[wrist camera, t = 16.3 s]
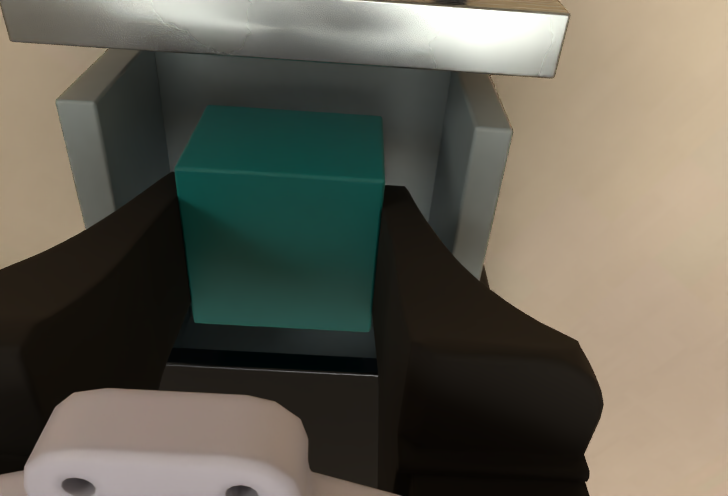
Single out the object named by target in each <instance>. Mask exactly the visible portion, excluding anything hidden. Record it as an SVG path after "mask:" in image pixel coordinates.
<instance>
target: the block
mask: <svg viewBox="0 0 728 496" xmlns="http://www.w3.org/2000/svg"><path fill="white" fill-rule="evenodd" d="M174 172H175V180H176V188H177V195H178V203H179V210H180V218H181V226H182V234H183V241H184V249H185V257H186V265H187V273H188V280H189V288H190V296H191V305H192V312H193V320H194V322H195V323H203V324H221V325H240V326H258V327H277V328H295V329H314V330H332V331H351V332H369V331H370V329H371V321H372V306H373V296H374V286H375V276H376V265H377V255H378V245H379V235H380V225H381V215H382V208H383V200H384V190H385V162H384V136H383V119H382V117H381V116H373V115H358V114H343V113H328V112H312V111H297V110H282V109H266V108H251V107H236V106H221V105H207V107H206V109H205V110H204V112H203V114H202V116H201V118H200V120H199V122H198V124H197V126H196V128H195V129H194V131H193V133H192V135H191V137H190V139H189V141H188V143H187V145H186V147H185V148H184V150H183V152H182V154H181V156H180V158H179V160H178V162H177V164H176V166H175V168H174Z"/></svg>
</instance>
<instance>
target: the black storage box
mask: <svg viewBox="0 0 728 496" xmlns="http://www.w3.org/2000/svg"><path fill="white" fill-rule="evenodd" d="M480 282H482V283H483V284H484V285H485V286H486V287H488V288H489V284H488V280H487V276H486V272H485V268H484V264H483V268H482V272H481V277H480ZM489 289H490V288H489ZM158 391H177V392H196V393H216V394H236V395H249V396H253V397H257V398H262V399H266V400H271V401H275V402H277V403H278V404H280V405H281V406H282V407H284V408H285V409H287V410H288V411H290V412H291V413H292V414H294V415H295V416H297V417H298V418H300V419H301V422H302V424H303V427H304V429H305V432H306V434H307V437H308V463H309V468H310V470H311V471H312V472H315V473H318V474H322V475H326V476H330V477H334V478H337V479H341V480H345V481H349V482H352V483H356V484H360V485H364V486H367V487H371V488H375V489H378V417H379V383H378V367H377V358H366V357H347V356H328V355H309V354H290V353H271V352H252V351H233V350H213V349H194V348H175V347H173V348H172V351H171V353H170V356H169V358H168V361H167V364H166V367H165V369H164V372H163V375H162V379H161V382H160V386H159V390H158Z"/></svg>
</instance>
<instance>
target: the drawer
mask: <svg viewBox="0 0 728 496" xmlns="http://www.w3.org/2000/svg"><path fill="white" fill-rule="evenodd" d="M0 6H1V9H2V13H3V17H4V20H5V24H6V28H7V32H8V35H9V39H10V41H12V42H23V43H37V44H52V45H67V46H82V47H96V48H109V49H108V50H107V51H106V52H105V53H104V54H103V55H102V56H101V57H100V58H98V59H97V60H96V61H95V62H94V63H93V64H92V65H91V66H90V67H89V68H88V69H87V70H86V71H85V72H84V73H83V74H82V75H81V76H80V77H79V78H78V79H77V80H76V81H75V82H74V83H73V84H72V85H71V86H70V87H69V88H67V89H66V90H65V91H64V92H63V93H62V94H61V95H60V96H59V97H58V98H57V99H56V107H57V111H58V115H59V119H60V123H61V128H62V132H63V136H64V140H65V144H66V149H67V153H68V157H69V161H70V165H71V170H72V174H73V178H74V182H75V186H76V191H77V195H78V199H79V203H80V207H81V211H82V216H83V220H84V224H85V228H86V229H88V228H89V227H91V226H92V225H94V224H96V223H97V222H99V221H100V220H102V219H104V218H105V217H107V216H108V215H110V214H112V213H113V212H115V211H116V210H118V209H119V208H121V207H122V206H123V205H125V204H126V203H128V202H129V201H131V200H132V199H133V198H135V197H136V196H138V195H139V194H140V193H142V192H143V191H145V190H146V189H147V188H149V187H150V186H151V185H153V184H154V183H156V182H157V181H158V180H160V179H161V178H163V177H164V176H166V175H167V174H169V173H170V172H174V168H175V166H176V164H177V162H178V160H179V158H180V156H181V154H182V152H183V150H184V148H185V147H186V145H187V143H188V141H189V139H190V137H191V135H192V133H193V131H194V129H195V128H196V126H197V124H198V122H199V120H200V118H201V116H202V114H203V112H204V110H205V109H206V107H207V105H221V106H236V107H251V108H266V109H282V110H297V111H312V112H328V113H343V114H358V115H373V116H381V117H382V119H383V136H384V162H385V185H396V186H405V187H406V188H407V189H408V191H409V192H410V194H411V196H412V198H413V200H414V201H415V203H416V205H417V207H418V208H419V210H420V211H421V213H422V215H423V216H424V218H425V219H426V221H427V222H428V224H429V225H430V226H431V228H432V229H433V230H434V232H435V233H436V235H437V236H438V237H439V239H440V240H441V241H442V242H443V244H444V245H445V246H446V247H447V249H448V250H449V251H450V252H451V253H452V254H453V256H454V257H455V258H456V259H457V260H458V261H459V262H460V263H461V264H462V265H463V266H464V267H465V268H466V269H467V270H468V271H469V272H470V273H471V274H473V275H474V276H475V277H476V278H477V279H478V280H479V281H480V277H481V272H482V268H483V263H484V259H485V255H486V250H487V246H488V241H489V237H490V232H491V228H492V224H493V219H494V215H495V210H496V206H497V201H498V197H499V193H500V188H501V184H502V179H503V175H504V171H505V166H506V162H507V157H508V153H509V148H510V144H511V140H512V135H513V129H512V127H511V124H510V122H509V120H508V117H507V115H506V113H505V110H504V108H503V106H502V103H501V101H500V99H499V96H498V94H497V92H496V89H495V87H494V85H493V82H492V80H491V78H490V75H489V74H494V75H508V76H523V77H538V78H554V77H555V74H556V70H557V66H558V62H559V58H560V54H561V50H562V46H563V42H564V38H565V35H566V31H567V27H568V23H569V19H570V13H569V12H568V11H567V10H566V9H565V7H564V6H563V5H562V4H561V3H560V2H559V1H558V0H0ZM173 347H175V348H194V349H213V350H233V351H252V352H271V353H290V354H309V355H328V356H347V357H366V358H377V357H376V347H375V337H374V328H373V318H372V321H371V329H370V331H369V332H351V331H332V330H314V329H295V328H277V327H258V326H240V325H221V324H203V323H195V322H194V320H193V312H192V305H191V304H190V306H189V309H188V311H187V314H186V316H185V319H184V321H183V323H182V326H181V328H180V331H179V333H178V336H177V338H176V341H175V343H174V346H173Z"/></svg>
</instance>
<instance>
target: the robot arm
mask: <svg viewBox="0 0 728 496" xmlns="http://www.w3.org/2000/svg"><path fill="white" fill-rule="evenodd" d="M190 304H191V296H190V288H189V280H188V273H187V265H186V257H185V249H184V241H183V234H182V226H181V218H180V210H179V203H178V195H177V188H176V180H175V172H170V173H169V174H167V175H166V176H164V177H163V178H161V179H160V180H158V181H157V182H156V183H154V184H153V185H151V186H150V187H149V188H147V189H146V190H145V191H143V192H142V193H140V194H139V195H138V196H136V197H135V198H133V199H132V200H131V201H129V202H128V203H126V204H125V205H123V206H122V207H121V208H119V209H118V210H116V211H115V212H113V213H112V214H110V215H108V216H107V217H105V218H104V219H102V220H100V221H99V222H97V223H96V224H94V225H92V226H91V227H89V228H88V229H86V230H84V231H83V232H81V233H79V234H77V235H76V236H74V237H72V238H70V239H68V240H66V241H64V242H62V243H60V244H58V245H56V246H54V247H52V248H50V249H48V250H46V251H44V252H42V253H40V254H37V255H35V256H33V257H30V258H28V259H25V260H23V261H20V262H18V263H15V264H13V265H10V266H8V267H5V268H3V269H0V496H589V493H588V490H587V487H586V483H585V481H586V482H587V481H588V479H589V468H588V465H587V462H586V459H585V456H584V453H585V451H586V449H587V447H588V444H589V442H590V440H591V438H592V435H593V433H594V431H595V429H596V427H597V424H598V422H599V420H600V417H601V413H602V409H603V405H604V404H603V398H602V392H601V389H600V386H599V384H598V381H597V379H596V376H595V374H594V371H593V369H592V367H591V365H590V363H589V361H588V359H587V357H586V356H585V354H584V352H583V350H582V349H581V347H580V345H579V342H578V341H577V340H575V339H573V338H571V337H569V336H567V335H565V334H563V333H561V332H559V331H557V330H555V329H553V328H551V327H548V326H546V325H544V324H542V323H541V322H539V321H537V320H535V319H534V318H532V317H530V316H529V315H527V314H525V313H524V312H522V311H520V310H519V309H517V308H515V307H514V306H512V305H511V304H510V303H508V302H507V301H505V300H504V299H502V298H501V297H500V296H498V295H497V294H496V293H494V292H493V291H492V290H490V289H489V288H488V287H486V286H485V285H484V284H483V283H482V282H480V281H479V280H478V279H477V278H476V277H475V276H474V275H473V274H471V273H470V272H469V271H468V270H467V269H466V268H465V267H464V266H463V265H462V264H461V263H460V262H459V261H458V260H457V259H456V258H455V257H454V256H453V254H452V253H451V252H450V251H449V250H448V249H447V247H446V246H445V245H444V244H443V242H442V241H441V240H440V239H439V237H438V236H437V235H436V233H435V232H434V230H433V229H432V228H431V226H430V225H429V224H428V222H427V221H426V219H425V218H424V216H423V215H422V213H421V211H420V210H419V208H418V207H417V205H416V203H415V201H414V200H413V198H412V196H411V194H410V192H409V191H408V189H407V188H406V187H405V186H396V185H385V190H384V200H383V208H382V215H381V225H380V235H379V245H378V255H377V265H376V276H375V286H374V296H373V306H372V318H373V328H374V337H375V347H376V357H377V367H378V383H379V417H378V489H375V488H371V487H367V486H364V485H360V484H356V483H352V482H349V481H345V480H341V479H337V478H334V477H330V476H326V475H322V474H318V473H315V472H312V471H311V470H310V468H309V463H308V437H307V434H306V432H305V429H304V427H303V424H302V422H301V419H300V418H298V417H297V416H295V415H294V414H292V413H291V412H290V411H288V410H287V409H285V408H284V407H282V406H281V405H280V404H278V403H277V402H275V401H271V400H266V399H262V398H257V397H253V396H249V395H236V394H216V393H196V392H177V391H158V390H159V386H160V382H161V379H162V375H163V372H164V369H165V367H166V364H167V361H168V358H169V356H170V353H171V351H172V348H173V346H174V343H175V341H176V338H177V336H178V333H179V331H180V328H181V326H182V323H183V321H184V319H185V316H186V314H187V311H188V309H189V306H190Z"/></svg>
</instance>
